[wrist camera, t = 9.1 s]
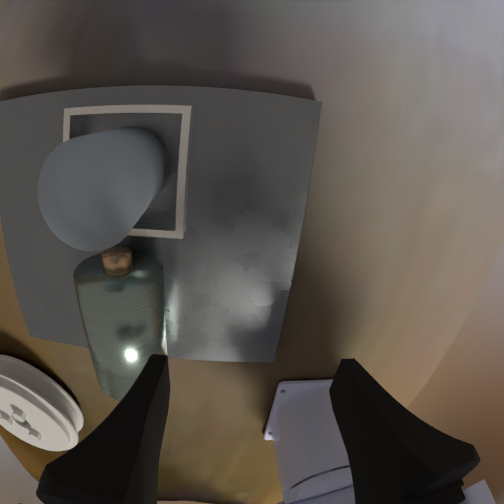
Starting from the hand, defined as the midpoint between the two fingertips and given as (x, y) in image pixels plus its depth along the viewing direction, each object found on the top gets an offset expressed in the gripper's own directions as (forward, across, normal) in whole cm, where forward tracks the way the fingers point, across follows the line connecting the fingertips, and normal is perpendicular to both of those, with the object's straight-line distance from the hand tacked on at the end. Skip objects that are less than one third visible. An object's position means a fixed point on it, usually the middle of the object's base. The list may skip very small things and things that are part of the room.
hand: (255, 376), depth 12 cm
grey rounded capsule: (+8, +7, -6) cm, 12 cm away
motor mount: (+9, +7, -2) cm, 11 cm away
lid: (+9, +21, +17) cm, 29 cm away
